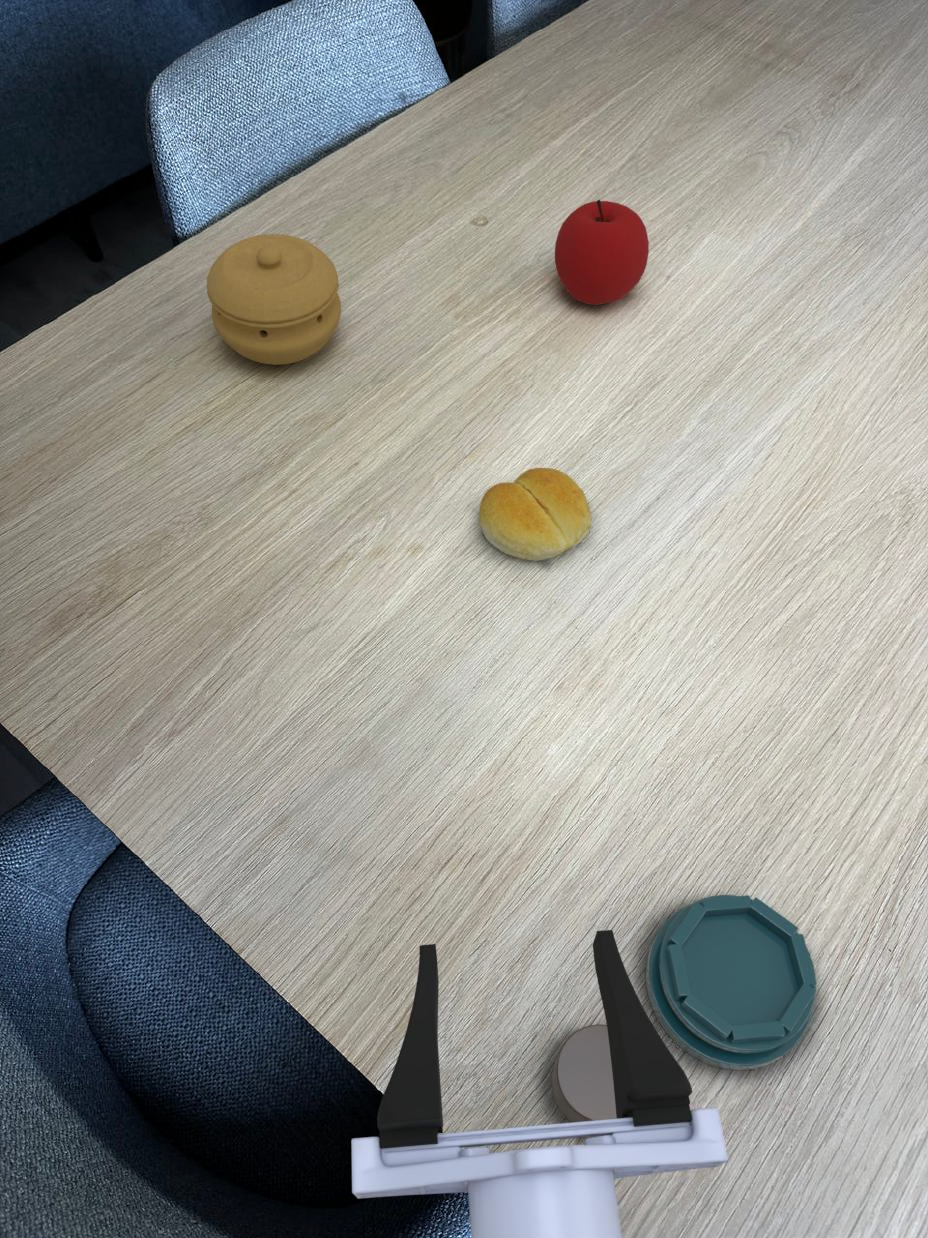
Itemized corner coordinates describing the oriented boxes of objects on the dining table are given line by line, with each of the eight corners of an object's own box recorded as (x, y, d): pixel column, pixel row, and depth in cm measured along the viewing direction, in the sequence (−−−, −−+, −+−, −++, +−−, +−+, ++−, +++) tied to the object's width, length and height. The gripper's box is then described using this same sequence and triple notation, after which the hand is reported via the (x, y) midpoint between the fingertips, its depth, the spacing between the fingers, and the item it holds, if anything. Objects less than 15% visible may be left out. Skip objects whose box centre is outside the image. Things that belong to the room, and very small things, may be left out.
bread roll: (461, 512, 86) (462, 479, 83) (551, 474, 89) (556, 440, 85) (513, 581, 82) (517, 549, 78) (606, 539, 85) (613, 506, 81)
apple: (626, 328, 100) (644, 237, 92) (537, 306, 102) (547, 214, 94) (650, 274, 105) (669, 183, 97) (565, 253, 107) (576, 162, 99)
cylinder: (648, 1129, 59) (657, 1119, 57) (558, 1137, 59) (563, 1128, 56) (631, 1034, 62) (639, 1020, 60) (545, 1041, 62) (550, 1028, 59)
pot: (202, 319, 99) (182, 227, 91) (317, 289, 102) (308, 197, 94) (240, 397, 93) (222, 305, 85) (362, 362, 96) (356, 271, 88)
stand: (828, 1062, 61) (851, 1046, 58) (663, 1078, 61) (676, 1062, 57) (783, 899, 67) (801, 876, 64) (632, 911, 66) (642, 888, 63)
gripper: (775, 1295, 35) (694, 901, 42) (345, 1336, 34) (340, 929, 42) (732, 1298, 41) (668, 951, 48) (364, 1333, 40) (357, 976, 48)
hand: (515, 944), depth 46 cm, fingers open, 7 cm apart
